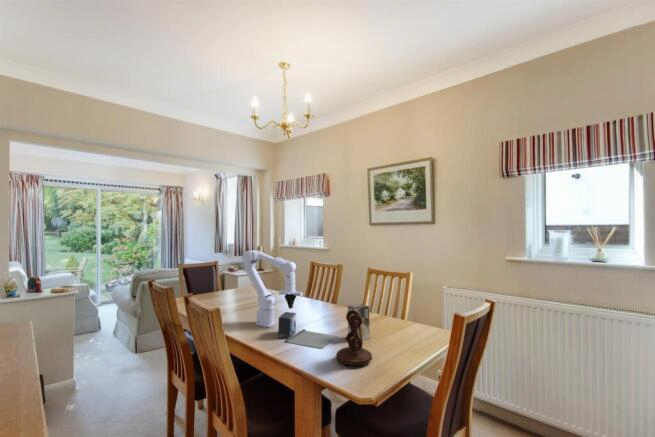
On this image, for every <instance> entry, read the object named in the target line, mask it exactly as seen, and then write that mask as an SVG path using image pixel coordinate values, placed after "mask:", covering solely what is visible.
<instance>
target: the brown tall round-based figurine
mask: <svg viewBox="0 0 655 437" xmlns="http://www.w3.org/2000/svg"><path fill="white" fill-rule="evenodd" d="M345 315H346V316H345V319H346V321H347V324H348V323H349V325H350V330H351V332H350V333H348V332H347V335H346V338H345V339H346V342H347V344H348V346H347V347H343V348H341V349H339V350H338V351H337V352H336V355H335V357H336V359H337V360H338V361H339V362H340V363H342V365H343V366H344V367H346V365H352V366H354V365H360V366H361V365H365V364H366V365H367V366H369V364H370V362H371V361H372V360H373V354H372V352H370V351H369V350H367V349H366V348H364V347H363V344H364V343H363V341H364V340H362V330H361V324H362V319H361V317H360V316H359V314H358V312H357V311H355V310H351V311H349V312H348V311H347V313H346V314H345ZM358 329H359V335H360V339H359V335H358V332H357V331H358Z"/></svg>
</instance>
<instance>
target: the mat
mask: <svg viewBox="0 0 655 437" xmlns="http://www.w3.org/2000/svg"><path fill="white" fill-rule="evenodd" d="M337 338H338V335H332V334H329V333H328V334H327V333H322V332H321V333H320V332H316V331H310V330H306V329H305V328H303V329H301V330H300V331H298V332H295V333H294V334H293V336H291V337H290V338H288V339H286V338H285V340H284V343H287V344H293V345H298V346H303V347H307V348H308V347H309V348H314V349H320V350H323V349H325V347H326V346H328V345H330V343H331V342H333V341H334V340H335V339H337Z"/></svg>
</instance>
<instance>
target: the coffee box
mask: <svg viewBox="0 0 655 437" xmlns="http://www.w3.org/2000/svg"><path fill="white" fill-rule="evenodd" d="M351 310H355V311H357V312H358V314H359V316H360V317H361V319H362V324H361V330H362V341H365V340H369V339H371V338H370V335H371V334H370V306H369V305H365V304H362V303H361V304H354V305H347V313H348V312H349V311H351ZM350 332H351V330H350V325H349V323H348V322H347V334H348V333H350ZM357 332H358V335H359V329H358V331H357ZM359 339H360V335H359Z"/></svg>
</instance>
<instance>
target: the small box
mask: <svg viewBox="0 0 655 437" xmlns="http://www.w3.org/2000/svg"><path fill="white" fill-rule="evenodd" d="M296 324H297V312H291V311H290V312H288V311H285V312H283V313H282V314H281V315H280V316H278V330H277V332H278V333H277V334H278V336H277V338H278V339H285V340H286V339H288V338H290V337H291V336H293V335H295V334H296V333H297V332H296V330H297V325H296Z"/></svg>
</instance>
